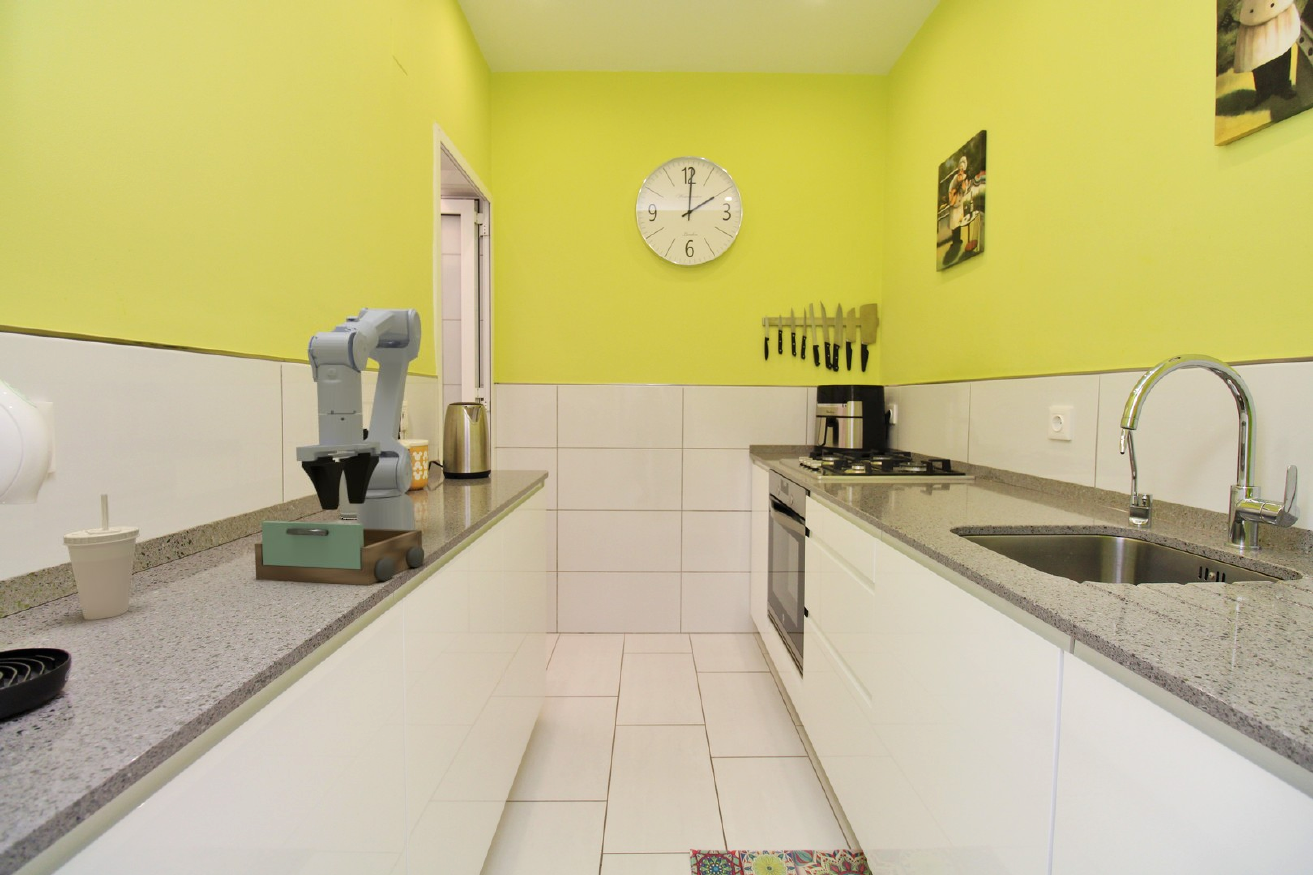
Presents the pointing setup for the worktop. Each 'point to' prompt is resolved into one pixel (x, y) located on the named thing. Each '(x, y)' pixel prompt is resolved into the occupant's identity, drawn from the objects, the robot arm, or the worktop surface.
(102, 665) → the worktop surface
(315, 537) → the tailgate
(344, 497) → the travel mug
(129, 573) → the smoothie
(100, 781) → the worktop surface
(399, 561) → the cart
